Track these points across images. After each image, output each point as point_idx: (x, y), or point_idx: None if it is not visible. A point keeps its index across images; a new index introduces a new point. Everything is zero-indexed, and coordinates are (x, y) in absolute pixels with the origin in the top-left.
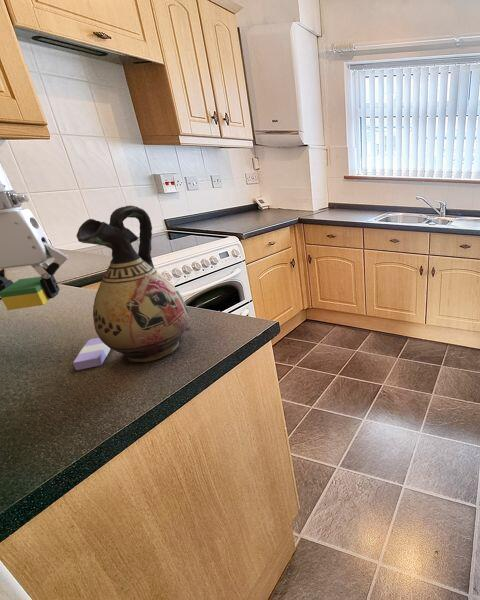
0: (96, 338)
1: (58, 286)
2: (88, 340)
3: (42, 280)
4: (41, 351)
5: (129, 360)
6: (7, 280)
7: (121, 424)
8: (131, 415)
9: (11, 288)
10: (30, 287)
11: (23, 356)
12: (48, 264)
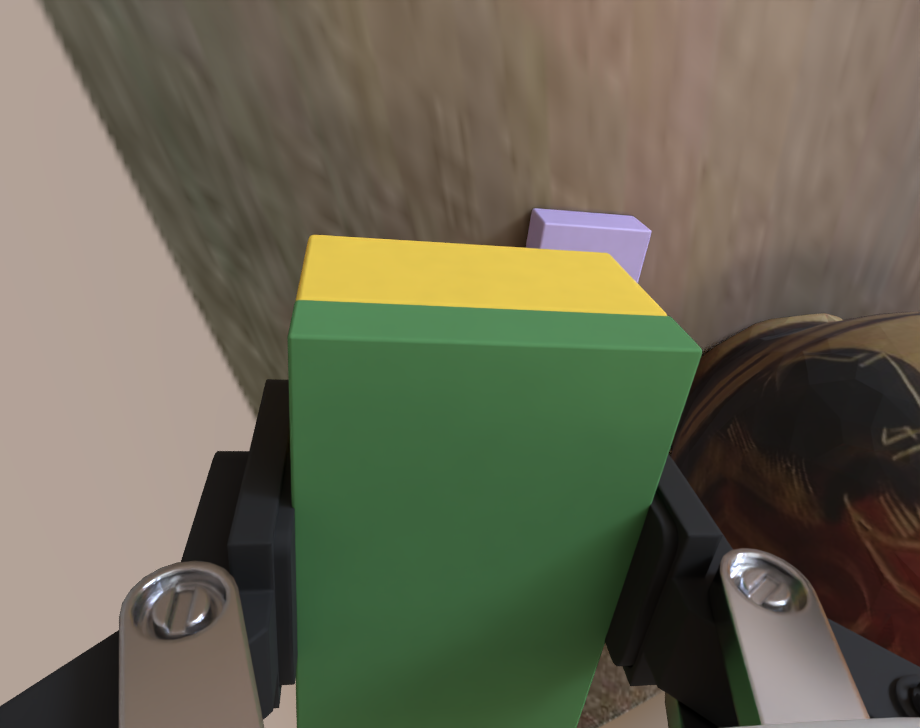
0: (581, 233)
1: (677, 466)
2: (543, 236)
3: (644, 678)
4: (269, 106)
5: (672, 448)
6: (274, 613)
7: (618, 706)
8: (639, 689)
9: (367, 681)
10: (536, 712)
11: (187, 126)
12: (852, 703)
